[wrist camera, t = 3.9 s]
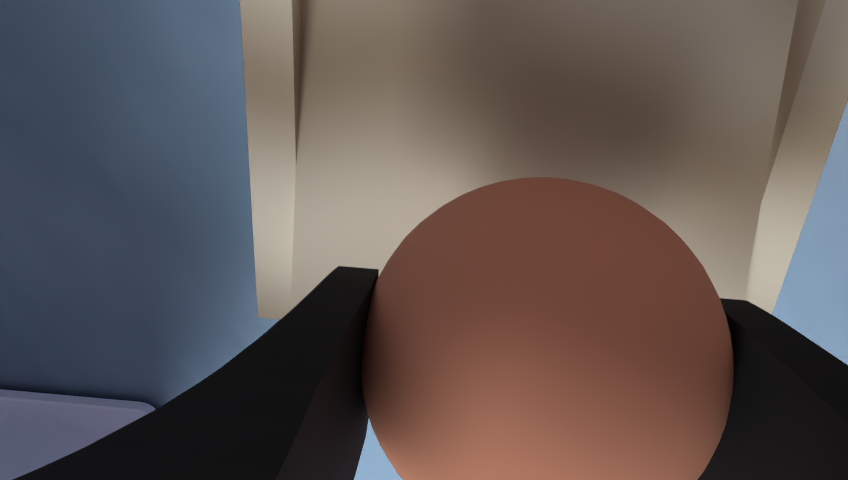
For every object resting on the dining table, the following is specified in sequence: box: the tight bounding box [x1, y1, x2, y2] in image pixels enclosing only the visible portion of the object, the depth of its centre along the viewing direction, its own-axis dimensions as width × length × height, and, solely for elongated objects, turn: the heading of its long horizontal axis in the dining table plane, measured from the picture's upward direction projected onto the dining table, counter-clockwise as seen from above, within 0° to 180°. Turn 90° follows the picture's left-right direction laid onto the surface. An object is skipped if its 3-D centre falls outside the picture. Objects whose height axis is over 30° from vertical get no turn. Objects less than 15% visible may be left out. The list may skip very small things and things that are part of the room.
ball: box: [361, 177, 734, 480], centre depth 9 cm, size 5×5×5 cm
